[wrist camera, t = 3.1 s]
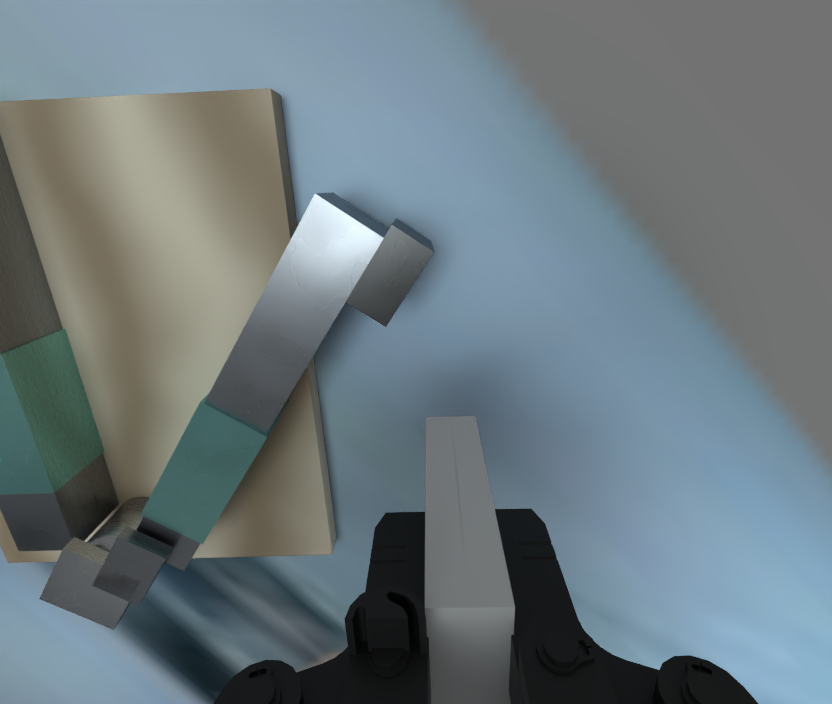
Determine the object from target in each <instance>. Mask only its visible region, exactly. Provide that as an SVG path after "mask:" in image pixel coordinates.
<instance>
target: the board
mask: <svg viewBox="0 0 832 704" xmlns="http://www.w3.org/2000/svg"><path fill="white" fill-rule="evenodd" d="M0 135H1V138H2V141H3V144H4V147H5V151H6V154H7V157H8V160H9V163H10V166H11V169H12V172H13V175H14V178H15V182H16V185H17V188H18V191H19V194H20V197H21V200H22V203H23V206H24V209H25V213H26V216H27V219H28V222H29V225H30V228H31V231H32V234H33V237H34V240H35V244H36V247H37V250H38V253H39V256H40V259H41V262H42V265H43V268H44V271H45V275H46V278H47V281H48V284H49V287H50V290H51V293H52V296H53V299H54V302H55V306H56V309H57V312H58V315H59V318H60V321H61V324H62V327H63V329H66V332H67V335H68V339H69V342H70V345H71V348H72V351H73V354H74V357H75V360H76V364H77V367H78V370H79V373H80V376H81V379H82V382H83V385H84V388H85V392H86V395H87V398H88V401H89V404H90V407H91V410H92V413H93V417H94V420H95V423H96V426H97V429H98V432H99V435H100V438H101V441H102V445H103V448H104V452H103V454H104V457H105V461H106V464H107V467H108V470H109V473H110V476H111V479H112V482H113V485H114V488H115V492H116V495H117V498H118V501H119V505H118V506H117V507H116V508H115V509H114V510H113V511H112V512H111V513H110V514H109V515H108V516H107V518H106V519H105V520H104V521H103V522H102V523H101V524H100V525H99V526H98V527H97V528H96V529H95V530H94V531H93V532H92V533H91V534H90V535H89V536H88V538H87V539H86V540H85V542H87V541H88V540H89V539H90V538H91V537H92V536H93V535H94V534H95V533H96V532H97V531H98V530H99V529H100V528H101V527H102V526H103V524H104V523H105V522H106V521H107V520H108V519H109V518H110V517H111V516H112V515H113V514H114V513H115V512H116V511H117V510H118V508H119V507H120V506H121V505H122V504H123V503H124V502H125V501H127V500H128V499H131V498H133V497H140V496H141V497H150V496H151V494H152V492H153V490H154V488H155V486H156V484H157V482H158V481H159V479H160V477H161V475H162V473H163V471H164V469H165V467H166V465H167V463H168V462H169V460H170V458H171V456H172V454H173V452H174V450H175V448H176V446H177V445H178V443H179V441H180V439H181V437H182V435H183V433H184V431H185V429H186V427H187V426H188V424H189V422H190V420H191V418H192V416H193V414H194V412H195V410H196V409H197V407H198V405H199V403H200V401H201V400H202V399H203V398H204V397H205V396H206V395H208V394H209V392H210V391H211V389H212V387H213V385H214V383H215V381H216V379H217V377H218V375H219V374H220V372H221V370H222V368H223V366H224V364H225V362H226V360H227V359H228V357H229V355H230V353H231V351H232V349H233V347H234V345H235V343H236V342H237V340H238V338H239V336H240V334H241V332H242V330H243V328H244V327H245V325H246V323H247V321H248V319H249V317H250V315H251V313H252V311H253V310H254V308H255V306H256V304H257V302H258V300H259V298H260V296H261V295H262V293H263V291H264V289H265V287H266V285H267V283H268V281H269V279H270V278H271V276H272V274H273V272H274V270H275V268H276V266H277V264H278V263H279V261H280V259H281V257H282V255H283V253H284V251H285V249H286V247H287V246H288V244H289V242H290V240H291V238H292V236H293V234H294V232H295V231H296V229H297V222H296V214H295V207H294V199H293V191H292V183H291V175H290V167H289V159H288V151H287V143H286V136H285V128H284V120H283V112H282V104H281V96H280V94H278V93H277V92H275V91H274V90H272V89H250V90H229V91H209V92H188V93H168V94H147V95H127V96H107V97H86V98H66V99H45V100H25V101H4V102H0ZM289 399H290V401H289V403H288V404H287V406H286V408H285V409H284V411H283V413H282V414H281V416H280V418H279V419H278V421H277V423H276V424H275V426H274V428H273V429H272V431H271V432H270V434H269V436H268V437H267V439H266V441H265V442H264V444H263V446H262V447H261V449H260V451H259V452H258V454H257V456H256V457H255V459H254V461H253V462H252V464H251V466H250V467H249V469H248V471H247V472H246V474H245V476H244V477H243V479H242V481H241V482H240V484H239V485H238V487H237V489H236V490H235V492H234V494H233V495H232V497H231V499H230V500H229V502H228V504H227V505H226V507H225V509H224V510H223V512H222V513H221V515H220V517H219V518H218V520H217V522H216V523H215V525H214V527H213V528H212V530H211V531H210V533H209V535H208V536H207V538H206V540H205V541H204V543H203V544H200V546H199V547H198V549H197V550H196V552H195V554H194V555H193V557H192V558H218V557H258V556H298V555H332V554H333V550H334V546H335V542H336V530H335V522H334V514H333V506H332V498H331V490H330V483H329V475H328V467H327V459H326V451H325V443H324V435H323V427H322V419H321V412H320V404H319V396H318V388H317V380H316V372H315V364H314V357H313V358H312V360H311V362H310V363H309V365H308V367H307V368H306V370H305V372H304V373H303V375H302V377H301V378H300V380H299V382H298V383H297V385H296V387H295V388H294V390H293V392H292V393H291V395H290V397H289ZM0 546H1V548H2V550H3V553H4V555H5V557H6V559H7V562H8V563H19V562H57V561H58V558H59V556H60V554H61V552H62V550H54V551H18V549H17V546H16V544H15V542H14V539H13V537H12V535H11V533H10V530H9V528H8V526H7V523H6V521H5V519H4V516H3V514H2V512H1V510H0Z"/></svg>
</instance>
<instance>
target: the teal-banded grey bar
mask: <svg viewBox="0 0 832 704" xmlns="http://www.w3.org/2000/svg"><path fill="white" fill-rule="evenodd" d="M103 452H104V448H103V445H102V441H101V438H100V435H99V432H98V429H97V426H96V423H95V420H94V417H93V413H92V410H91V407H90V404H89V401H88V398H87V395H86V392H85V388H84V385H83V382H82V379H81V376H80V373H79V370H78V367H77V364H76V360H75V357H74V354H73V351H72V348H71V345H70V342H69V339H68V335H67V332H66V329H63V327H62V324H61V321H60V318H59V315H58V312H57V309H56V306H55V302H54V299H53V296H52V293H51V290H50V287H49V284H48V281H47V278H46V275H45V271H44V268H43V265H42V262H41V259H40V256H39V253H38V250H37V247H36V244H35V240H34V237H33V234H32V231H31V228H30V225H29V222H28V219H27V216H26V213H25V209H24V206H23V203H22V200H21V197H20V194H19V191H18V188H17V185H16V182H15V178H14V175H13V172H12V169H11V166H10V163H9V160H8V157H7V154H6V151H5V147H4V144H3V141H2V138H1V135H0V510H1V512H2V514H3V516H4V519H5V521H6V523H7V526H8V528H9V530H10V533H11V535H12V537H13V539H14V542H15V544H16V546H17V549H18V551H54V550H63V548H64V547H65V546H66V545H67V544H68V543H69V542H70V541H71V540H72V539H73V538H74V537H76V538H78V539H80V540H83V541H85V540H86V539H87V538H88V536H89V535H90V534H91V533H92V532H93V531H94V530H95V529H96V528H97V527H98V526H99V525H100V524H101V523H102V522H103V521H104V520H105V519H106V518H107V516H108V515H109V514H110V513H111V512H112V511H113V510H114V509H115V508H116V507H117V506H118V505H119V501H118V498H117V495H116V492H115V488H114V485H113V482H112V479H111V476H110V473H109V470H108V467H107V464H106V461H105V457H104V454H103ZM149 498H150V497H141V496H140V497H133V498H131V499H128V500H127V501H125V502H124V503H123V504H122V505H121V506H120V507H119V508H118V510H117V511H116V512H115V513H114V514H113V515H112V516H111V517H110V518H109V519H108V520H107V521H106V522H105V523H104V524H103V526H102V527H101V528H100V529H99V530H98V531H97V532H96V533H95V534H94V535H93V536H92V537H91V538H90V539H89V540H88V541H87V543H89V544H92V545H94V546H96V547H98V548H101V549H103V550H105V551H107V552H110V550H111V548H112V546H113V544H114V542H115V540H116V538H117V536H118V535H119V534H120V533H121V532H122V531H123V530H124V528H125V527H126V526H128V527H130V528H132V529H134V530H137V528H138V526H139V524H140V522H141V520H142V518H143V516H141V513H142V511H143V509H144V507H145V505H146V503H147V501H148V500H149Z"/></svg>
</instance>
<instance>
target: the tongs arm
mask: <svg viewBox="0 0 832 704" xmlns="http://www.w3.org/2000/svg"><path fill="white" fill-rule="evenodd" d="M433 253H434V250H433V245H432V241H430V240H429V239H427V238H426V237H424V236H422V235H421V234H419V233H418V232H416V231H415V230H413V229H412V228H410V227H409V226H407V225H406V224H404V223H403V222H401V221H400V220H398V219H396V220H395V221H394V223H393V224H392V225H391V227H390V229H388V228H386V227H385V226H383V225H382V224H380V223H379V222H377V221H376V220H374V219H372V218H371V217H369V216H368V215H366V214H365V213H363V212H362V211H360V210H359V209H357V208H356V207H354V206H353V205H351V204H350V203H348V202H346V201H345V200H343V199H342V198H340V197H339V196H337V195H336V194H334V193H317V194H315V195H314V197H313V199H312V200H311V202H310V204H309V206H308V208H307V210H306V212H305V214H304V215H303V217H302V219H301V221H300V223H299V225H298V227H297V229H296V231H295V232H294V234H293V236H292V238H291V240H290V242H289V244H288V246H287V247H286V249H285V251H284V253H283V255H282V257H281V259H280V261H279V263H278V264H277V266H276V268H275V270H274V272H273V274H272V276H271V278H270V279H269V281H268V283H267V285H266V287H265V289H264V291H263V293H262V295H261V296H260V298H259V300H258V302H257V304H256V306H255V308H254V310H253V311H252V313H251V315H250V317H249V319H248V321H247V323H246V325H245V327H244V328H243V330H242V332H241V334H240V336H239V338H238V340H237V342H236V343H235V345H234V347H233V349H232V351H231V353H230V355H229V357H228V359H227V360H226V362H225V364H224V366H223V368H222V370H221V372H220V374H219V375H218V377H217V379H216V381H215V383H214V385H213V387H212V389H211V391H210V392H209V394H208V395H206V396H205V397H204V398H203V399H202V400H201V401H200V403H199V405H198V407H197V409H196V410H195V412H194V414H193V416H192V418H191V420H190V422H189V424H188V426H187V427H186V429H185V431H184V433H183V435H182V437H181V439H180V441H179V443H178V445H177V446H176V448H175V450H174V452H173V454H172V456H171V458H170V460H169V462H168V463H167V465H166V467H165V469H164V471H163V473H162V475H161V477H160V479H159V481H158V482H157V484H156V486H155V488H154V490H153V492H152V494H151V496H150V498H149V500H148V501H147V503H146V505H145V507H144V509H143V511H142V513H141V516H143V518H142V520H141V522H140V524H139V526H138V528H137V530H134V529H132V528H130V527H128V526H126V527H125V528H124V530H123V531H122V532H121V533H120V534H119V535H118V536H117V538H116V540H115V542H114V544H113V546H112V548H111V550H110V552H107V551H105V550H103V549H101V548H98V547H96V546H94V545H92V544H89V543H87V542H85V541H83V540H80V539H78V538H76V537H74V538H73V539H72V540H71V541H70V542H69V543H68V544H67V545H66V546H65V547H64V548H63V550H62V552H61V554H60V556H59V558H58V561H57V563H56V565H55V567H54V569H53V571H52V573H51V575H50V578H49V580H48V582H47V584H46V586H45V588H44V590H43V593H42V595H41V597H40V599H41V600H43V601H46V602H48V603H51V604H53V605H55V606H58V607H60V608H63V609H65V610H67V611H70V612H72V613H75V614H77V615H79V616H82V617H84V618H87V619H89V620H91V621H94V622H96V623H99V624H101V625H103V626H106V627H108V628H111V629H113V630H114V628H115V627H116V625H117V624H118V623H119V621H120V620H121V618H122V617H123V615H124V613H125V611H126V610H127V608H128V606H129V604H130V603H133V604H135V605H138V606H139V604H140V603H141V601H142V600H143V598H144V597H145V595H146V594H147V592H148V590H149V589H150V587H151V585H152V583H153V582H154V580H155V578H156V577H157V575H158V573H159V571H160V570H161V568H162V566H163V564H164V563H168V564H170V565H172V566H174V567H176V568H179V569H181V570H183V571H184V570H185V568H186V567H187V565H188V563H189V562H190V560H191V559H192V557H193V555H194V554H195V552H196V550H197V549H198V547H199V546H200V544H203V543H204V541H205V540H206V538H207V536H208V535H209V533H210V531H211V530H212V528H213V527H214V525H215V523H216V522H217V520H218V518H219V517H220V515H221V513H222V512H223V510H224V509H225V507H226V505H227V504H228V502H229V500H230V499H231V497H232V495H233V494H234V492H235V490H236V489H237V487H238V485H239V484H240V482H241V481H242V479H243V477H244V476H245V474H246V472H247V471H248V469H249V467H250V466H251V464H252V462H253V461H254V459H255V457H256V456H257V454H258V452H259V451H260V449H261V447H262V446H263V444H264V442H265V441H266V439H267V437H268V436H269V434H270V432H271V431H272V429H273V428H274V426H275V424H276V423H277V421H278V419H279V418H280V416H281V414H282V413H283V411H284V409H285V408H286V406H287V404H288V403H289V401H290V399H289V397H290V395H291V393H292V392H293V390H294V388H295V387H296V385H297V383H298V382H299V380H300V378H301V377H302V375H303V373H304V372H305V370H306V368H307V367H308V365H309V363H310V362H311V360H312V358H313V357H314V355H315V353H316V352H317V350H318V348H319V347H320V345H321V343H322V342H323V340H324V338H325V337H326V335H327V333H328V332H329V330H330V328H331V327H332V325H333V323H334V322H335V320H336V318H337V317H338V315H339V313H340V312H341V310H342V308H343V307H344V305H345V303H348V304H349V305H351V306H352V307H354V308H356V309H357V310H359V311H361V312H362V313H364V314H366V315H367V316H369V317H371V318H372V319H374V320H375V321H377V322H379V323H380V324H382V325H384V326H385V327H386V326H387V324H388V323H389V321H390V320H391V318H392V317H393V315H394V313H395V312H396V310H397V309H398V307H399V306H400V304H401V303H402V301H403V300H404V298H405V296H406V295H407V293H408V292H409V290H410V289H411V287H412V286H413V284H414V283H415V281H416V279H417V278H418V276H419V275H420V273H421V272H422V270H423V269H424V267H425V265H426V264H427V262H428V261H429V259H430V258H431V256H432V255H433Z"/></svg>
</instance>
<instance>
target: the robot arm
mask: <svg viewBox="0 0 832 704" xmlns="http://www.w3.org/2000/svg"><path fill="white" fill-rule="evenodd" d="M345 625H346V633H347V641H348V647H347V648H346V649H345V650H344V651H343V652H342V653H341V654H339V655H338V656H337V657H335V658H334V659H332V660H329V661H327V662H325V663H323V664H320V665H317V666H314V667H311V668H309V669H306V670H303V671H300V672H297V673H296V672H295V670H294V668H293V667H292V666H290V665H288V664H286V663H284V662H282V661H279V660H264V661H261V662H258V663H255V664H252V665H249V666H248V667H247V668H245V669H244V670H242V671H241V672H239V673H238V674H237V675H235V676H234V677H233V678H232V679H231V681H230V682H229V683H228V684H227V685H226V687H225V688H224V689H223V690H222V691H221V693H220V695H219V696H218V698H217V699H216V701H215V703H214V704H510V703H511V704H758V703H757V702H756V701H755V699H754V698H753V697H752V696H751V695H750V694H749V692H748V691H747V690H746V689H745V688H744V687H743V686H742V685H741V684H740V683H739V682H738V681H737V680H736V679H734V678H733V677H732V676H731V675H730V674H729V673H728V672H727V671H725V670H723V669H722V668H720V667H718V666H716V665H715V664H713V663H711V662H710V661H707V660H704V659H700V658H697V657H693V656H674V657H672V658H670V659H669V660H667V661H665V662H664V663H663V664H662V666H661V668H660V670H657V669H653V668H650V667H647V666H643V665H640V664H637V663H633V662H630V661H627V660H624V659H622V658H619V657H617V656H614V655H612V654H611V653H609V652H607V651H606V650H604V649H603V648H601V647H600V646H599V645H597V644H596V643H595V642H594V641H593V639H592V638H591V637H590V636H589V635H588V634H587V633H586V632H585V631H584V629H583V628H582V626H581V624H580V622H579V620H578V618H577V615H576V612H575V609H574V606H573V603H572V601H571V598H570V595H569V592H568V589H567V586H566V583H565V580H564V577H563V575H562V572H561V569H560V566H559V563H558V560H557V559H556V554H555V551H554V549H553V546H552V545H551V540H550V537H549V534H548V531H547V528H546V525H545V523H544V522H543V521H542V520H541V519H540V518H539V517H538V516H537V515H536V514H535V512H534V511H533V510H532V509H495V508H494V503H493V498H492V494H491V489H490V484H489V479H488V474H487V469H486V465H485V460H484V455H483V450H482V445H481V441H480V436H479V431H478V426H477V421H476V416H448V417H426V464H425V512H395V513H385V514H384V516H383V517H382V519H381V520H380V522H379V523H378V524H377V526H376V527H375V532H374V538H373V545H372V552H371V558H370V565H369V571H368V578H367V585H366V591H365V593H363V594H361V595H360V596H359V597H358V598H357V599H356V600H355V601H354V602H353V603H352V604H351V605H350V608H349V610H348V613H347V615H346V617H345Z"/></svg>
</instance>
